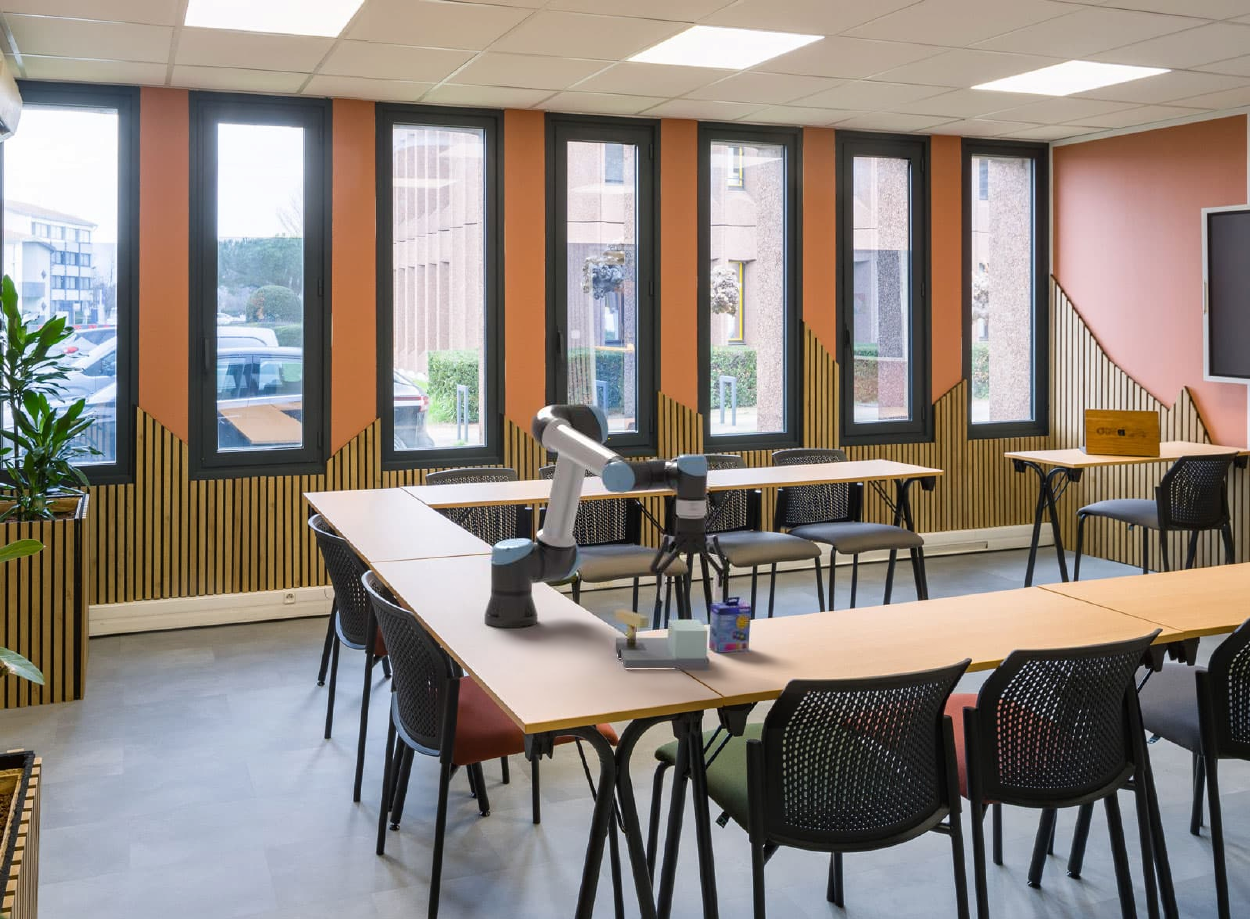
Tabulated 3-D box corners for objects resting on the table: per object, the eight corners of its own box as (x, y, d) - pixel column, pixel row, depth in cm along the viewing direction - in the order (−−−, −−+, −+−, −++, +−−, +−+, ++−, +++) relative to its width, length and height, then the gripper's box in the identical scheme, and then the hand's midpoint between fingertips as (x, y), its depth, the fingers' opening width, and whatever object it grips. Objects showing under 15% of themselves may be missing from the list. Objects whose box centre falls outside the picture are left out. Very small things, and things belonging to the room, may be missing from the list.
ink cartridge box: (717, 653, 305) (719, 599, 303) (707, 648, 310) (709, 594, 308) (750, 650, 309) (752, 596, 307) (740, 645, 314) (742, 592, 312)
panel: (613, 647, 309) (613, 637, 308) (693, 646, 311) (693, 637, 311) (623, 670, 287) (623, 659, 287) (709, 669, 289) (709, 659, 289)
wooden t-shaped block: (639, 650, 295) (640, 618, 294) (614, 640, 304) (615, 610, 303) (647, 648, 296) (648, 617, 295) (622, 639, 305) (623, 608, 304)
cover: (667, 646, 301) (668, 619, 300) (698, 646, 302) (698, 619, 301) (674, 658, 289) (675, 630, 288) (706, 658, 290) (707, 630, 289)
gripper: (643, 518, 287) (641, 603, 289) (742, 518, 290) (740, 602, 292) (639, 514, 294) (638, 597, 296) (736, 514, 297) (734, 596, 299)
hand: (688, 599), depth 294 cm, fingers open, 13 cm apart
